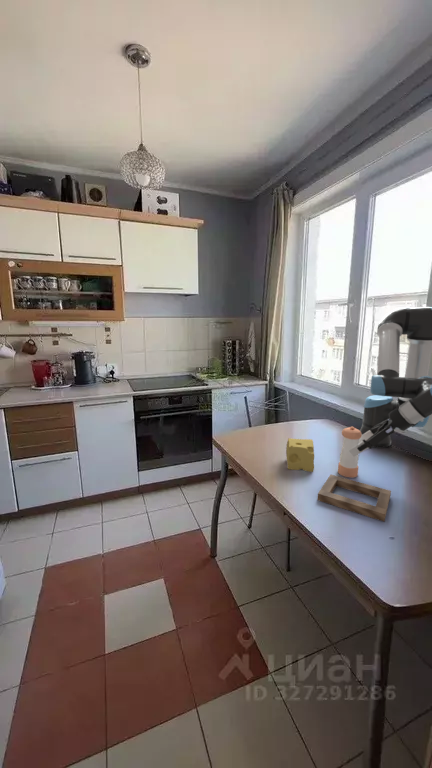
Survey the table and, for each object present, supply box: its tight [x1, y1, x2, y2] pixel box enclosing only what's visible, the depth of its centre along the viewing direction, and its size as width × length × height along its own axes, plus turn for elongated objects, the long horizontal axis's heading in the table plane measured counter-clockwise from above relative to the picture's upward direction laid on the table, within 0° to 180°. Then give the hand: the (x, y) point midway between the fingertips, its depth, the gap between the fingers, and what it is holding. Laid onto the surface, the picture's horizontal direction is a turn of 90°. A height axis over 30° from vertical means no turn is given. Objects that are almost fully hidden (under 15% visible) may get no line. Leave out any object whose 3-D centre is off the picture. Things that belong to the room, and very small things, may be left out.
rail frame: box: [317, 474, 392, 523], centre depth 106 cm, size 20×16×2 cm
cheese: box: [285, 437, 315, 473], centre depth 129 cm, size 10×11×10 cm
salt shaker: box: [337, 426, 362, 478], centre depth 122 cm, size 7×7×19 cm
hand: (354, 447), depth 120 cm, fingers open, 13 cm apart
